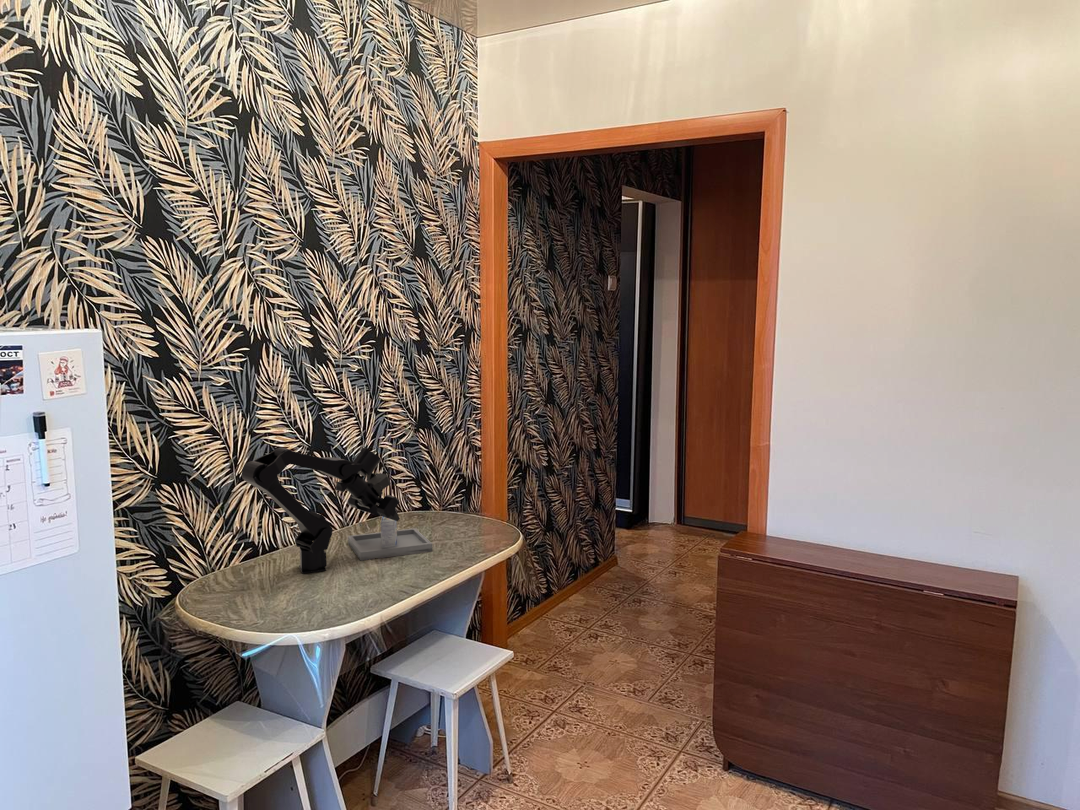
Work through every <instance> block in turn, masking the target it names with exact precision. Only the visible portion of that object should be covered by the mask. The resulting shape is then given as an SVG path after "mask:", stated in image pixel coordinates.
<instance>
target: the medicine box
mask: <svg viewBox="0 0 1080 810" xmlns="http://www.w3.org/2000/svg"><path fill="white" fill-rule="evenodd" d="M397 530H398V521H395V520H392V519H389V518H386V517H383V516H381V521H380V532H381V548H390V547H396V543H397Z"/></svg>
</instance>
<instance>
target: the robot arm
mask: <svg viewBox="0 0 1080 810" xmlns="http://www.w3.org/2000/svg"><path fill="white" fill-rule="evenodd" d="M355 457H356V458H354V459H353V461H352V460H348V459H343V458H339V457H331V456H330V457H329V456H328V457H327V456H326V457H321V456H319V457H317V456H314V455H311V454H307V453H306V454H305V453H301V452H297V451H294V450H291V449H288V448H285V447H278V448H277V447H276V448H275V449H274V450H272V451H271V452H269V453H266V454H264V455H262V456H259V457H257V458H256V459H254V460H251V461H247V462H246V463H245V464H244V465H243V466H242V469H241V478H242V479H243V480H244V482H246V483H248V484H250V485H251V486H253V487H255V488H257V489H258V490H260V491H262V492H264V493H266V495H268V497H270V498H271V499H272V500H273V501H274V502H275V503H276V504H277V505H278V507H280V508H281V509H282V510H283V511H284V512H285V513H286V514H287V515H288V516H289V517H291V518H292V519H293V520H294V521H295V522H296V523H297V527H298V530H299V534H298V535H297V537H296V538H295V539H294V543H295V545H296V547H297V548H299V565H298V568H299V570H300V572H301V574H303V575H305V574H309V573H310V574H311V573H317V572H318V573H319V572H320V573H321V572H325V571H326V570H327V569H326V567H327V566H328V565H327V552H326V551H327V550H328V548H329V544H330V541H331V538H332V536H333V530H334V529H333V527H332V522H330V521H328V520H327V519H326V517H325V516H324V515H323V514H320V513H318V512H315V511H308V509H306V508H305V506H303V504H302V503H300V502H299V501H298V499H296V498H295V497H294V496H293V494H291V493H290V491H288V490H287V489H286V488H285V487H284V486H283V485H282V484H281V483H280V479H279V475H280V474H281V473H282V472H283V470H284V469H285V468H286V466H288V465H294V466H297V467H301V468H306V469H311V470H315V471H318V472H320V473H322V474H323V475H326V476H327V477H330V478H334V479H337V480H338V481H336V486H335V491H337V492H341V493H345V491H347V492H349V494H351V495H350V496H349V498H348V499H347V501H348V502H347V504H348V505H349V506H350V507H352V508H354V509H357V510H360V511H363V512H366V513H367V514H368V513H369V514H372V515H375V516H378V517H379V516H381V517H386V518H389V519H392V520H395V521H397V522H399V520H400V516H399V514H398V511H397V507H398V505H399V504H400V499H398V497H397V496H394V495H390V494H387V495H384V497H383V498H382V497H381V496H382V495H383V493H384V492H383V491H384V489H386V488H387V487H389V486H390V485H391V484H392V483H391V481H390V479H389V475H388V474H385V473H381V472H378V473H377V472H376V473H374V471H375V470H376V468H377V467H378V465H379V464H380V463H381V461H382V459H381V457H380V456H379V455H377V454H376V453H374V452H373V451H371V450H369V448H367V447H362V448H361V450H360V451H359V453H358V455H357V456H355ZM362 476H363V477H362ZM364 477H366V479H365V478H364Z"/></svg>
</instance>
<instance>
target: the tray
mask: <svg viewBox="0 0 1080 810" xmlns="http://www.w3.org/2000/svg"><path fill="white" fill-rule="evenodd" d="M347 545H348V546H349V547H350V549H351V550H352V551H353V553H354V554H355V556H356V557H357V558H358V559H359V561H368V560H369V559H370V560H376V559H375V558H378V559H383V558H384V559H385V558H393V557H400V556H408V555H415V554H423V553H431V551H432V552H433V542H431V541H430V540H429V539H428V538H427V537H426V536H425V535H424V534H422V533H421V532H420V531H419V529H418V528H416V527H415V528H406V529H405V528H404V529H397V543H396V547H390V548H381V531H378V532H371V533H361V534H352V535H347Z"/></svg>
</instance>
